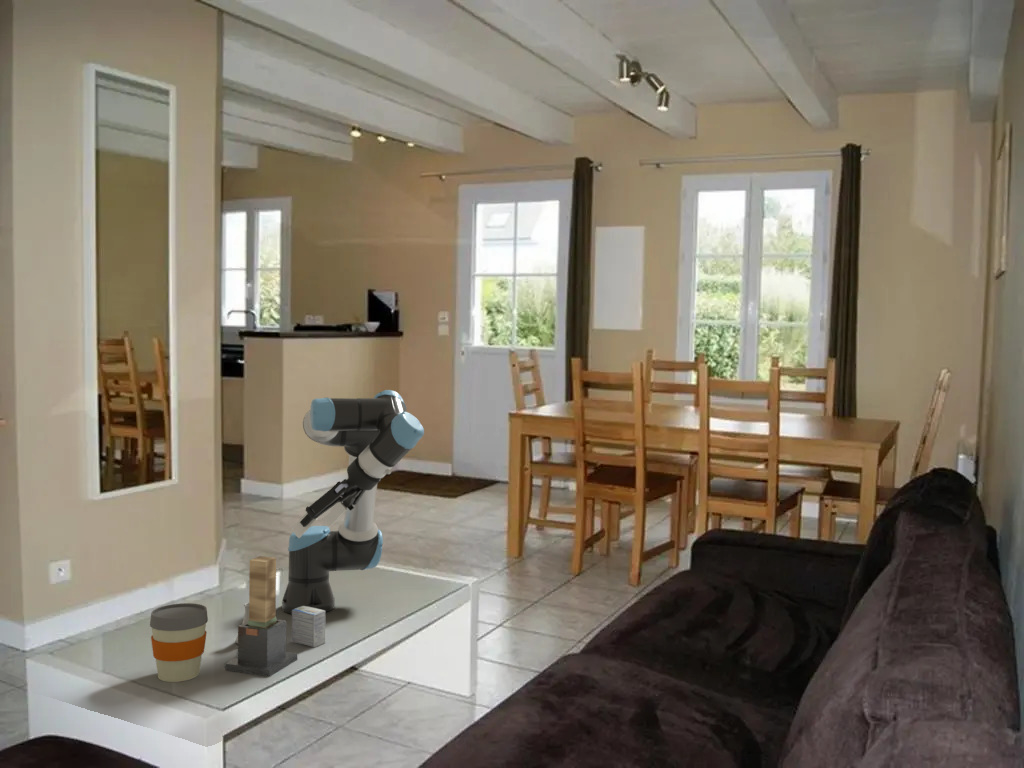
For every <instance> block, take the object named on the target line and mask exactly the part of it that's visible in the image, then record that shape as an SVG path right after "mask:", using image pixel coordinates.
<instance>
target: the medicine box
mask: <svg viewBox="0 0 1024 768" xmlns="http://www.w3.org/2000/svg"><path fill="white" fill-rule="evenodd" d="M291 642H292V643H295V644H300V645H303V646H307V647H312V648H316V647H319V646H321V645H323V644H325V643H326V612H325V610H321V609H317V608H312V607H307V606H301V607H298V608H295V609H293V610H292V614H291Z"/></svg>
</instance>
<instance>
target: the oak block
mask: <svg viewBox="0 0 1024 768" xmlns="http://www.w3.org/2000/svg"><path fill="white" fill-rule="evenodd" d="M248 581H249V584H248V585H249V586H248V589H249V591H248V595H249V598H248V599H249V600H248V603H249V620H248V625H249V626H251V627H258V628H268V627H270V626H272V625H274V624H275V622H276V619H277V616H276V611H277V610H276V609H277V607H276V605H277V602H276V601H277V599H276V598H277V557H272V556H262V555H260V556H256V557H254V558H252V559H250V560H249V580H248Z"/></svg>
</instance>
